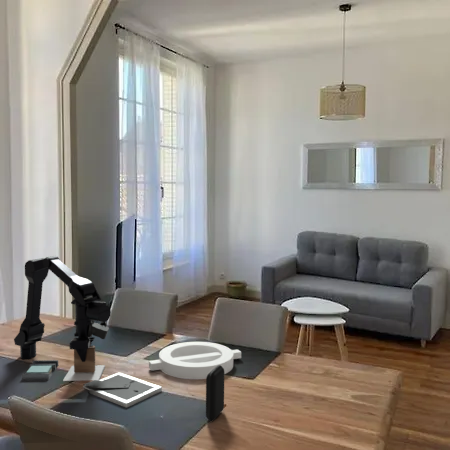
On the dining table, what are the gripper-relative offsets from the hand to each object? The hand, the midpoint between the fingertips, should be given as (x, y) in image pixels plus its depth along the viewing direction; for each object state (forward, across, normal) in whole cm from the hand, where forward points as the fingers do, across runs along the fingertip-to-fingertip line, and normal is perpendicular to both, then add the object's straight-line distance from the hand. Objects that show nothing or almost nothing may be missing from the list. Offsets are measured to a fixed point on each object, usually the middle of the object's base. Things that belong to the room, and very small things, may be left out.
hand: (84, 360), depth 183 cm
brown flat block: (+4, 0, 0) cm, 4 cm away
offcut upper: (+4, -1, +15) cm, 16 cm away
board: (+6, 0, 0) cm, 6 cm away
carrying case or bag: (+6, -33, -45) cm, 56 cm away
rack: (+6, +1, +15) cm, 16 cm away
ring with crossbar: (+6, +9, -40) cm, 41 cm away
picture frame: (+6, -14, -15) cm, 21 cm away
